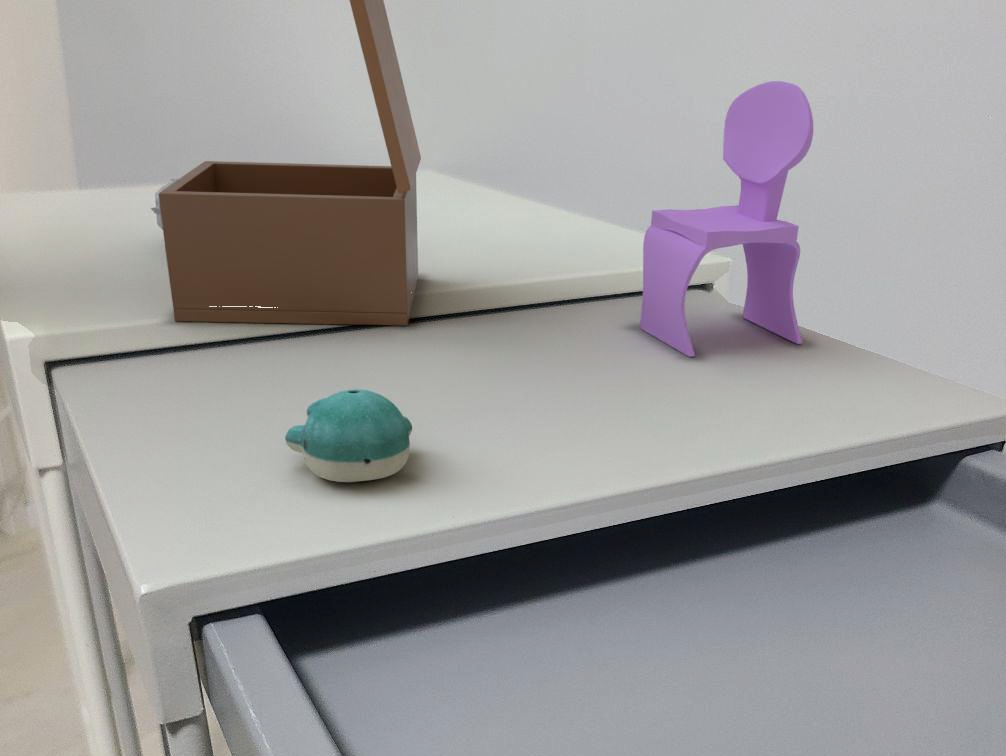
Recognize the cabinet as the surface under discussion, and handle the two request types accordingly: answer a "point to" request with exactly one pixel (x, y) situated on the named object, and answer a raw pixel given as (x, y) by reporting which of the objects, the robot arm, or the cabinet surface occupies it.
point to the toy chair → (736, 220)
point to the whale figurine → (353, 437)
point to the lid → (387, 89)
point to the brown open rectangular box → (290, 244)
